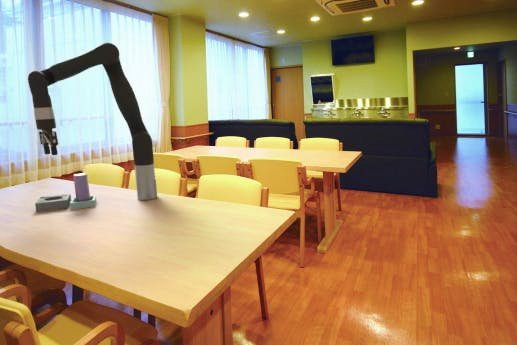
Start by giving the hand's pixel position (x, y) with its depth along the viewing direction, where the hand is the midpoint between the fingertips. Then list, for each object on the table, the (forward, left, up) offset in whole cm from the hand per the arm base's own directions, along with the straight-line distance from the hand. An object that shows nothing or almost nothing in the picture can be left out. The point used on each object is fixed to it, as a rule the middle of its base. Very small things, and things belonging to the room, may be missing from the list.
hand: (51, 154), depth 164 cm
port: (+2, -6, -25) cm, 26 cm away
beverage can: (-11, -2, -26) cm, 28 cm away
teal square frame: (-11, -2, -25) cm, 28 cm away
